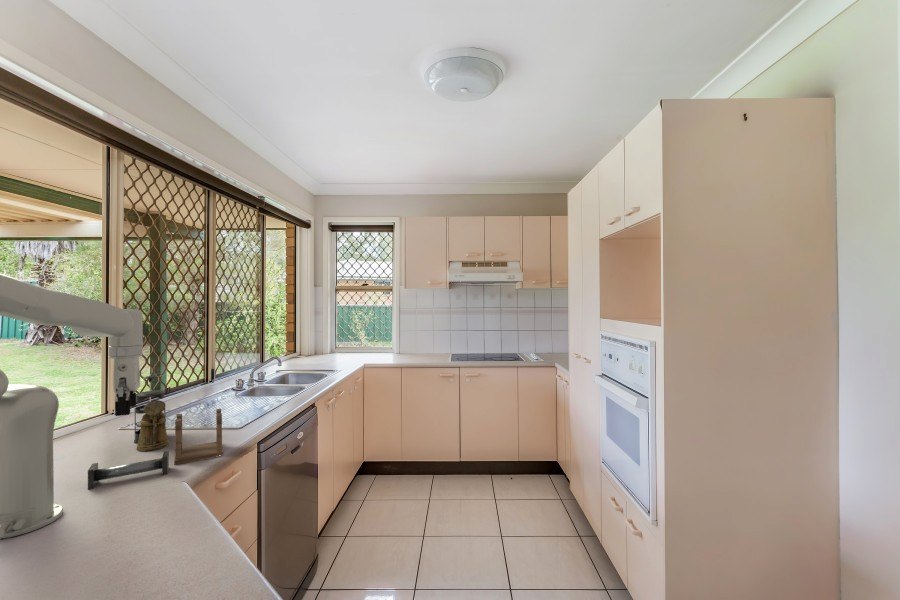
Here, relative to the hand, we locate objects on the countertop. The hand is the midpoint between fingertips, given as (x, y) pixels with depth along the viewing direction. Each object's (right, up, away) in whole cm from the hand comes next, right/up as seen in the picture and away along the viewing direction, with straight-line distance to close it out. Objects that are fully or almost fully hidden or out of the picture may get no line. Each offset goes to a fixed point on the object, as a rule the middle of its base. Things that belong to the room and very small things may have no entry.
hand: (126, 410), depth 113 cm
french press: (-16, -19, +30) cm, 39 cm away
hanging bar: (+2, -19, -1) cm, 19 cm away
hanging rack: (+11, -19, +16) cm, 27 cm away
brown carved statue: (-8, -19, +21) cm, 29 cm away
